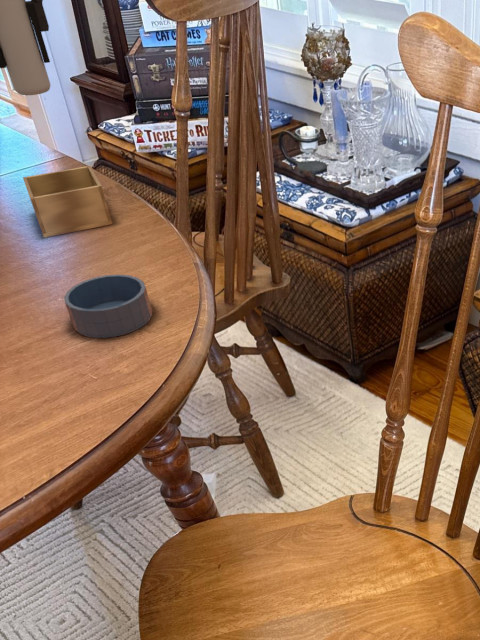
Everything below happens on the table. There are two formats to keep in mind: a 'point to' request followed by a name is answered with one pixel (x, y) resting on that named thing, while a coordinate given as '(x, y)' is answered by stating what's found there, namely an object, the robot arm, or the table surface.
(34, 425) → the table surface
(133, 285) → the dish
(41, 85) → the beverage can
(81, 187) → the box
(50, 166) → the table surface
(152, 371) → the table surface
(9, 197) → the table surface
